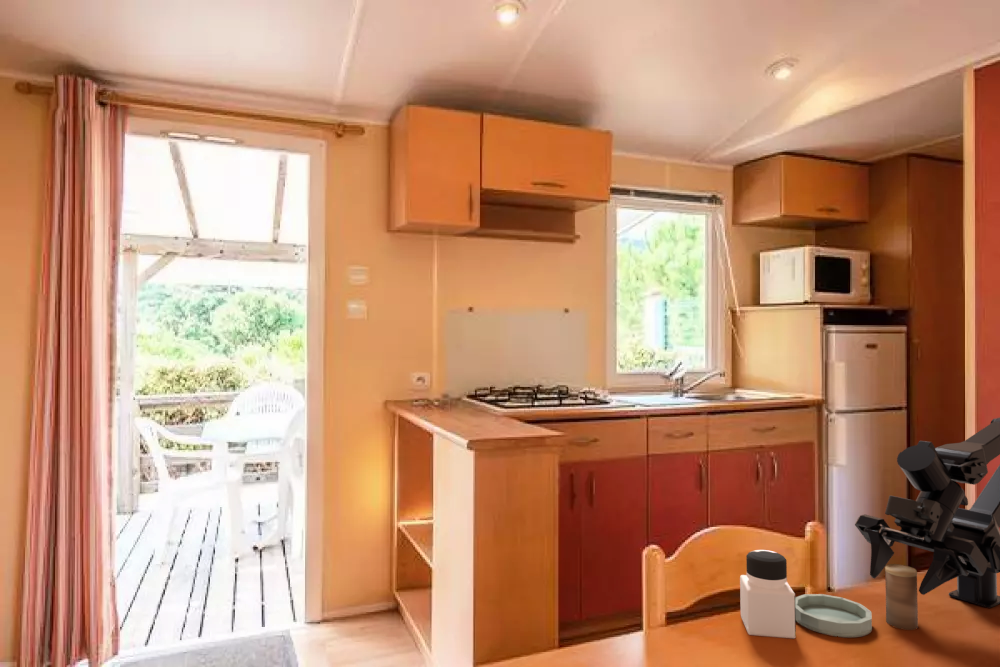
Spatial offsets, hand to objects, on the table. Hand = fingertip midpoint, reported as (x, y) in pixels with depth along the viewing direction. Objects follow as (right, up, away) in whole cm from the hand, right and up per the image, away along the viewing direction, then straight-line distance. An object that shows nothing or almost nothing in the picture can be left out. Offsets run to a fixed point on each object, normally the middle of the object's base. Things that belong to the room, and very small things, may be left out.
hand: (895, 584), depth 103 cm
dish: (-10, -7, +2) cm, 12 cm away
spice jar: (+1, -7, 0) cm, 7 cm away
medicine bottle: (-21, -7, -1) cm, 22 cm away
